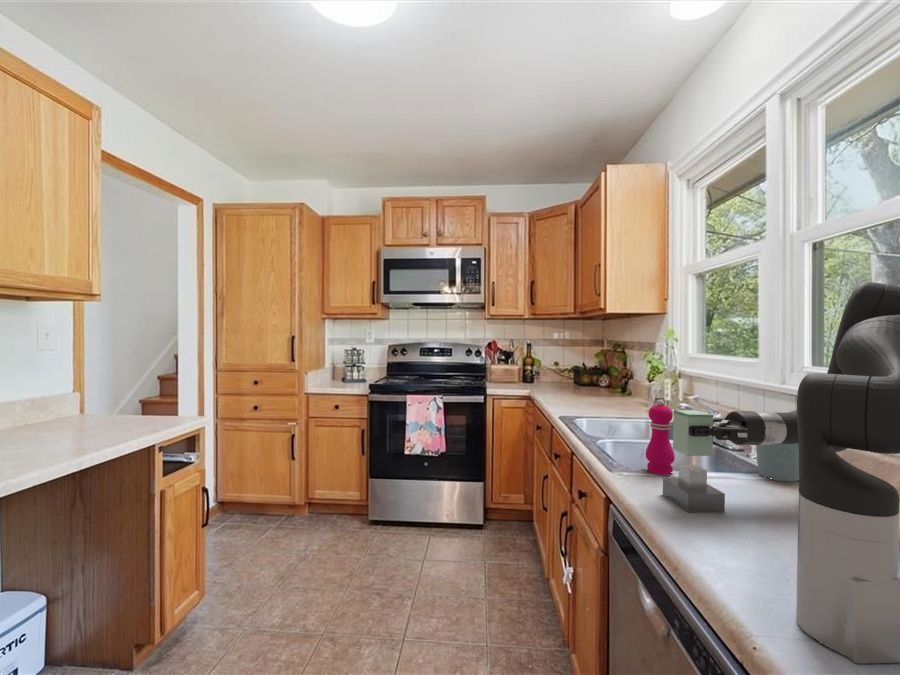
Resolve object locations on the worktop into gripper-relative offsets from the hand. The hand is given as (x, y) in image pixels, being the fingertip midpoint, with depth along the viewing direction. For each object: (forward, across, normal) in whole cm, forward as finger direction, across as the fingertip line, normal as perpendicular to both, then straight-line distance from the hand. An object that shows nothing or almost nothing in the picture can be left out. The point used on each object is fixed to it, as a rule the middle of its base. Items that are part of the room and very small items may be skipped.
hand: (681, 427), depth 94 cm
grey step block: (-3, 0, +17) cm, 17 cm away
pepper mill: (-7, -21, +17) cm, 28 cm away
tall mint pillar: (-3, 0, +6) cm, 6 cm away
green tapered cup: (-37, -17, +17) cm, 44 cm away
